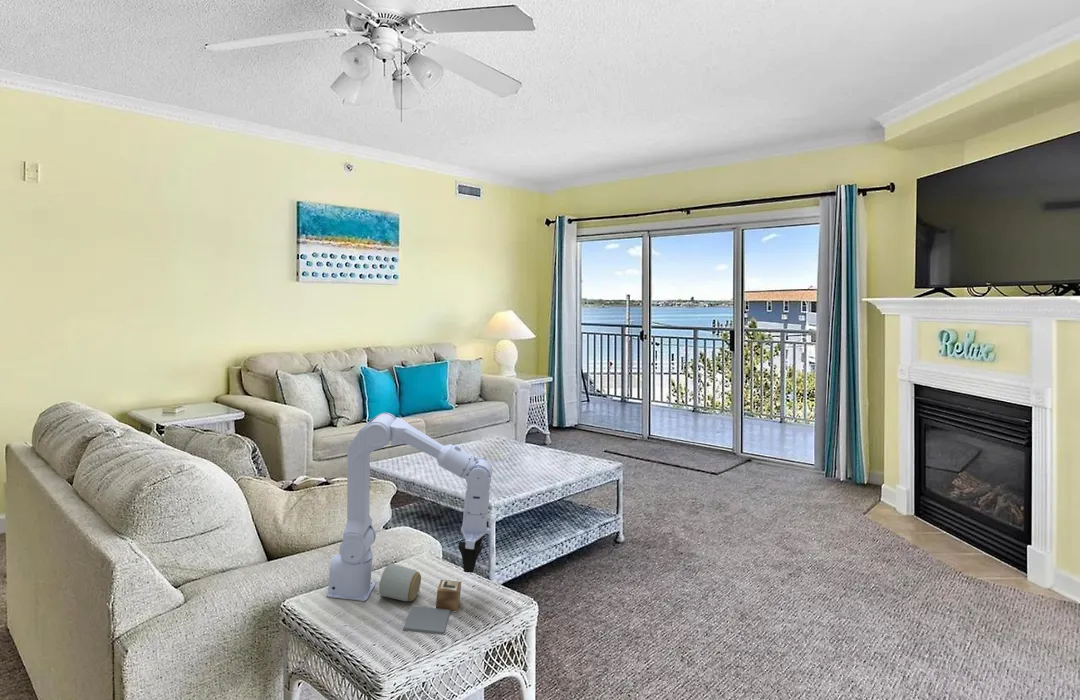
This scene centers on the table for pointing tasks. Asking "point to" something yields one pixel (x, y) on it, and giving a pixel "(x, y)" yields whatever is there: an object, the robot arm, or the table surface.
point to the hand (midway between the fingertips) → (470, 564)
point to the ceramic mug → (399, 583)
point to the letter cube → (448, 595)
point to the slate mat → (427, 620)
